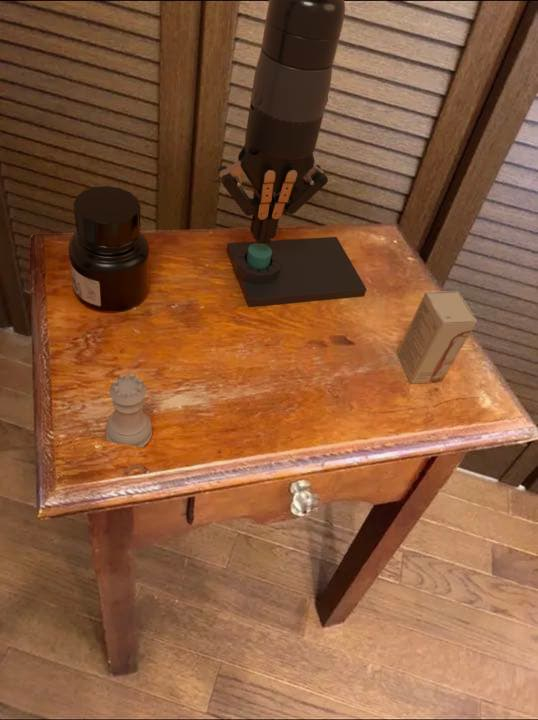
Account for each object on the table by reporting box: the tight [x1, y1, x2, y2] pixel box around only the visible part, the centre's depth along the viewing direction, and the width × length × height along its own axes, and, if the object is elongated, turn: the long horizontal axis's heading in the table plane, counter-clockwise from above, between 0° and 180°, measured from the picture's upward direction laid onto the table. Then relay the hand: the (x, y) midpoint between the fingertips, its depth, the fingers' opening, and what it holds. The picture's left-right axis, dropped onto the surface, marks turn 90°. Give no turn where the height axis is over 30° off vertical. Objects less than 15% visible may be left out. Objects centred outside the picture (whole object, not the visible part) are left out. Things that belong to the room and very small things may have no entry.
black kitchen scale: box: [226, 236, 367, 308], centre depth 77 cm, size 16×11×3 cm, turn 107°
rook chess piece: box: [105, 372, 153, 448], centre depth 55 cm, size 4×4×8 cm
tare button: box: [247, 243, 272, 269], centre depth 74 cm, size 3×3×2 cm
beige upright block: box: [396, 291, 478, 384], centre depth 67 cm, size 5×4×10 cm
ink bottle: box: [68, 185, 150, 313], centre depth 66 cm, size 10×9×12 cm
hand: (261, 239), depth 72 cm, fingers closed
